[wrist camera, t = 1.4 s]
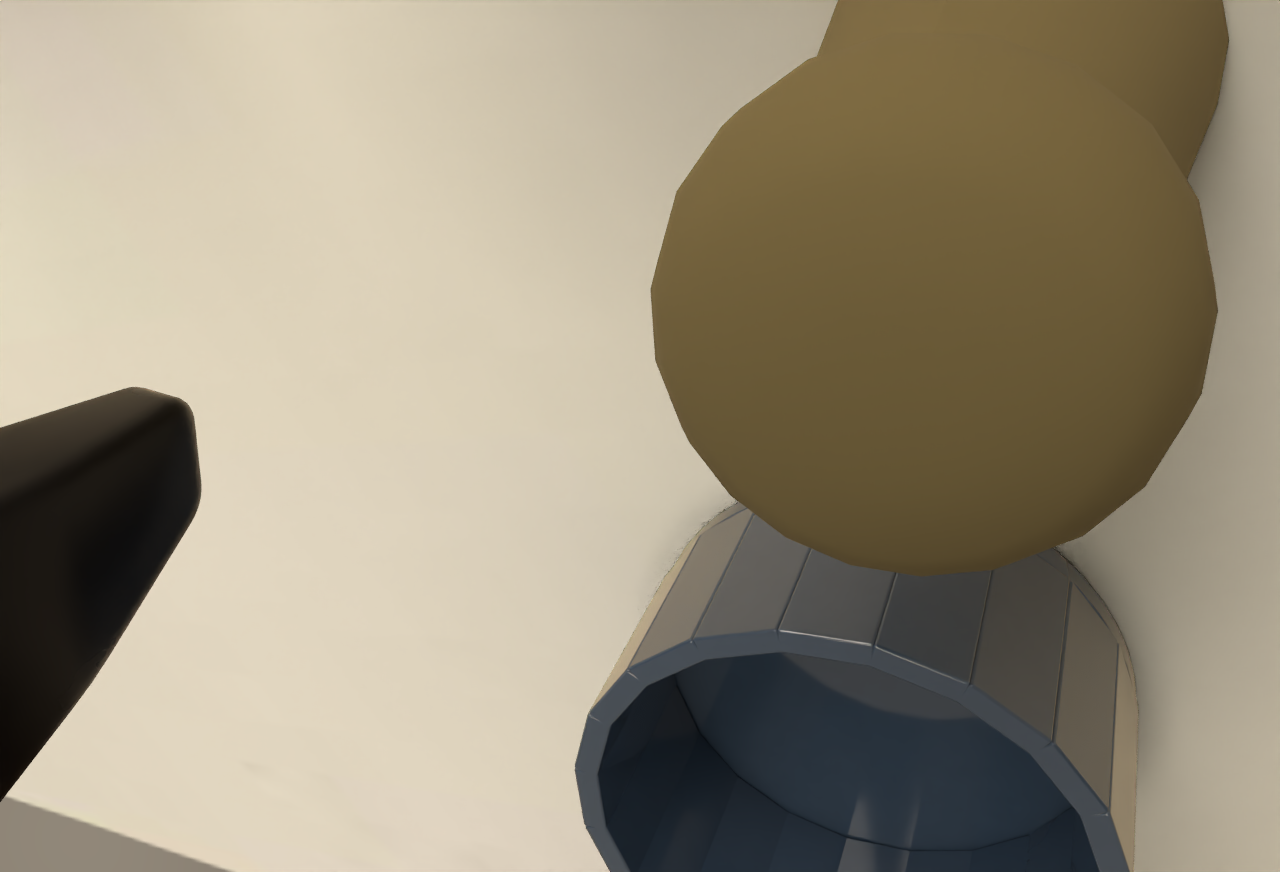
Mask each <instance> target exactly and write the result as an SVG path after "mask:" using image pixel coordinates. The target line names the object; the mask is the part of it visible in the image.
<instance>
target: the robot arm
mask: <svg viewBox="0 0 1280 872" xmlns="http://www.w3.org/2000/svg"><path fill="white" fill-rule="evenodd" d="M200 497H201V477H200V467H199V458H198V449H197V439H196V430H195V421H194V416H193V412H192V410H191V408H190V407H189V405H188V404H187V403H186V402H184V401H183V400H182V399H180V398H177V397H173V396H170V395H166V394H163V393H160V392H156V391H153V390H149V389H146V388H140V387H130V388H126V389H122V390H119V391H116V392H113V393H110V394H107V395H103V396H100V397H97V398H94V399H91V400H87V401H84V402H81V403H78V404H75V405H72V406H68V407H65V408H62V409H59V410H56V411H53V412H49V413H46V414H43V415H40V416H37V417H33V418H30V419H27V420H24V421H21V422H18V423H14V424H11V425H8V426H5V427H2V428H0V802H1V800H2V799H3V798H4V797H5V795H6V794H7V793H8V791H9V790H10V789H11V788H12V786H13V785H14V784H15V782H16V781H17V780H18V779H19V777H20V776H21V775H22V773H23V772H24V771H25V769H26V768H27V767H28V766H29V764H30V763H31V762H32V760H33V759H34V758H35V757H36V755H37V754H38V753H39V751H40V750H41V749H42V748H43V746H44V745H45V744H46V742H47V741H48V740H49V738H50V737H51V736H52V735H53V733H54V732H55V731H56V729H57V728H58V727H59V726H60V724H61V723H62V722H63V720H64V719H65V718H66V717H67V715H68V714H69V713H70V711H71V710H72V709H73V707H74V706H75V705H76V703H77V702H78V701H79V699H80V698H81V697H82V695H83V694H84V692H85V691H86V690H87V688H88V687H89V686H90V684H91V683H92V681H93V680H94V678H95V677H96V675H97V674H98V672H99V671H100V669H101V668H102V666H103V665H104V663H105V662H106V660H107V659H108V657H109V656H110V654H111V652H112V651H113V649H114V647H115V646H116V644H117V643H118V641H119V639H120V638H121V636H122V634H123V633H124V631H125V630H126V628H127V626H128V625H129V623H130V621H131V620H132V618H133V617H134V615H135V613H136V612H137V610H138V608H139V607H140V605H141V603H142V602H143V600H144V599H145V597H146V595H147V594H148V592H149V590H150V589H151V587H152V586H153V584H154V582H155V581H156V579H157V577H158V576H159V574H160V573H161V571H162V569H163V568H164V566H165V564H166V563H167V561H168V559H169V558H170V556H171V555H172V553H173V551H174V550H175V548H176V546H177V545H178V543H179V542H180V540H181V538H182V537H183V535H184V533H185V532H186V530H187V529H188V527H189V525H190V524H191V522H192V520H193V518H194V516H195V514H196V511H197V509H198V506H199V502H200Z"/></svg>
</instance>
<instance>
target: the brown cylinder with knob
mask: <svg viewBox="0 0 1280 872" xmlns="http://www.w3.org/2000/svg"><path fill="white" fill-rule="evenodd" d="M1228 43H1229V37H1228V31H1227V25H1226V19H1225V13H1224V7H1223V1H1222V0H838V3H837V5H836V8H835V10H834V13H833V16H832V18H831V21H830V24H829V26H828V29H827V31H826V34H825V37H824V39H823V42H822V44H821V47H820V50H819V52H818V55H817V57H814V58H811V59H808V60H807V61H805V62H804V63H803V64H801V65H800V66H798V67H797V68H796V69H794V70H793V71H792V72H790V73H789V74H788V75H786V76H785V77H783V78H782V79H781V80H779V81H778V82H777V83H775V84H774V85H772V86H771V87H770V88H768V89H767V90H766V91H764V92H763V93H761V94H760V95H759V96H757V97H756V98H755V99H753V100H752V101H750V102H749V103H748V104H746V105H745V106H744V107H742V108H741V109H740V110H739V111H738V112H737V113H735V114H734V115H733V116H732V117H731V118H730V119H729V120H728V121H727V122H726V123H725V124H724V125H723V126H722V127H721V128H720V130H719V131H718V133H717V134H716V135H715V137H714V138H713V140H712V141H711V143H710V144H709V146H708V147H707V148H706V150H705V151H704V153H703V154H702V156H701V157H700V159H699V160H698V161H697V163H696V164H695V166H694V167H693V169H692V170H691V172H690V173H689V174H688V176H687V177H686V179H685V180H684V182H683V183H682V185H681V186H680V187H679V189H678V190H677V192H676V196H675V200H674V203H673V207H672V211H671V214H670V218H669V222H668V225H667V229H666V233H665V236H664V240H663V244H662V247H661V251H660V255H659V258H658V262H657V266H656V270H655V274H654V278H653V282H652V286H651V302H652V317H653V332H654V346H655V361H656V363H657V366H658V368H659V371H660V373H661V376H662V378H663V381H664V383H665V386H666V388H667V391H668V393H669V396H670V399H671V401H672V404H673V406H674V409H675V411H676V414H677V416H678V419H679V421H680V424H681V426H682V428H683V430H684V432H685V434H686V436H687V438H688V440H689V442H690V444H691V445H692V446H693V448H694V449H695V450H696V451H697V453H698V454H699V455H700V457H701V458H702V459H703V460H704V462H705V463H706V464H707V466H708V467H709V468H710V469H711V471H712V472H713V473H714V475H715V476H716V477H717V478H718V480H719V481H720V482H721V484H722V485H723V486H724V487H725V489H726V490H727V491H728V493H729V494H730V495H731V496H732V497H733V498H735V499H736V500H737V501H738V502H740V503H741V504H742V505H744V506H745V507H746V508H748V509H749V510H750V511H752V512H753V513H754V514H756V515H757V516H758V517H760V518H761V519H762V520H763V521H765V522H766V523H767V524H769V525H770V526H771V527H773V528H774V529H775V530H777V531H778V532H779V533H781V534H782V535H783V536H784V537H786V538H788V539H791V540H793V541H795V542H798V543H800V544H802V545H805V546H807V547H809V548H812V549H814V550H816V551H819V552H821V553H823V554H826V555H828V556H830V557H833V558H835V559H837V560H840V561H842V562H844V563H847V564H849V565H853V566H859V567H865V568H871V569H878V570H884V571H890V572H896V573H902V574H909V575H915V576H932V575H943V574H954V573H964V572H975V571H986V570H994V569H997V568H999V567H1002V566H1005V565H1008V564H1011V563H1014V562H1016V561H1019V560H1021V559H1024V558H1027V557H1029V556H1032V555H1034V554H1037V553H1040V552H1042V551H1045V550H1047V549H1050V548H1053V547H1055V546H1058V545H1060V544H1063V543H1066V542H1068V541H1071V540H1073V539H1076V538H1079V537H1081V536H1083V535H1085V534H1086V533H1087V532H1088V531H1090V530H1091V529H1092V528H1093V527H1095V526H1096V525H1097V524H1099V523H1100V522H1101V521H1102V520H1104V519H1105V518H1106V517H1107V516H1109V515H1110V514H1111V513H1112V512H1114V511H1115V510H1116V509H1117V508H1119V507H1120V506H1121V505H1123V504H1124V503H1125V502H1126V501H1128V500H1129V499H1130V498H1131V497H1133V496H1134V495H1135V494H1136V493H1138V492H1139V491H1140V490H1141V489H1143V488H1144V487H1145V486H1146V484H1147V482H1148V481H1149V479H1150V478H1151V476H1152V474H1153V473H1154V471H1155V470H1156V468H1157V467H1158V465H1159V463H1160V462H1161V460H1162V459H1163V457H1164V455H1165V454H1166V452H1167V451H1168V449H1169V447H1170V446H1171V444H1172V443H1173V441H1174V439H1175V438H1176V436H1177V435H1178V433H1179V431H1180V430H1181V428H1182V427H1183V425H1184V424H1185V422H1186V420H1187V419H1188V417H1189V415H1190V413H1191V412H1192V410H1193V408H1194V406H1195V404H1196V403H1197V401H1198V399H1199V397H1200V396H1201V394H1202V389H1203V384H1204V379H1205V374H1206V369H1207V364H1208V359H1209V353H1210V348H1211V343H1212V338H1213V333H1214V328H1215V323H1216V318H1217V313H1218V308H1217V299H1216V291H1215V283H1214V278H1213V272H1212V267H1211V262H1210V256H1209V251H1208V246H1207V240H1206V235H1205V230H1204V224H1203V219H1202V214H1201V208H1200V203H1199V199H1198V198H1197V196H1196V194H1195V193H1194V191H1193V190H1192V188H1191V186H1190V185H1189V183H1188V181H1187V178H1188V175H1189V173H1190V170H1191V168H1192V166H1193V163H1194V161H1195V158H1196V156H1197V153H1198V151H1199V148H1200V146H1201V143H1202V141H1203V138H1204V136H1205V134H1206V131H1207V129H1208V126H1209V124H1210V121H1211V119H1212V116H1213V114H1214V111H1215V109H1216V106H1217V104H1218V99H1219V93H1220V87H1221V82H1222V76H1223V71H1224V65H1225V59H1226V54H1227V48H1228Z"/></svg>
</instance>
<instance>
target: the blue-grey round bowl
mask: <svg viewBox="0 0 1280 872" xmlns="http://www.w3.org/2000/svg"><path fill="white" fill-rule="evenodd" d="M1138 716H1139V710H1138V703H1137V699H1136V687H1135V676H1134V672H1133V668H1132V664H1131V660H1130V656H1129V652H1128V649H1127V646H1126V644H1125V642H1124V640H1123V637H1122V635H1121V633H1120V630H1119V628H1118V626H1117V623H1116V622H1115V620H1114V619H1113V617H1112V615H1111V614H1110V612H1109V611H1108V609H1107V607H1106V606H1105V604H1104V603H1103V601H1102V599H1101V598H1100V596H1099V595H1098V594H1097V593H1096V592H1095V590H1094V589H1093V588H1092V587H1091V586H1090V584H1089V583H1088V582H1087V581H1086V580H1085V578H1084V577H1083V576H1082V575H1081V574H1080V572H1079V571H1078V570H1076V569H1075V568H1074V567H1073V566H1072V565H1071V564H1070V563H1069V562H1068V561H1067V560H1066V559H1065V558H1064V557H1062V556H1061V555H1060V554H1059V553H1058V552H1057V551H1056V550H1055V549H1054V548H1050V549H1047V550H1045V551H1042V552H1040V553H1037V554H1034V555H1032V556H1029V557H1027V558H1024V559H1021V560H1019V561H1016V562H1014V563H1011V564H1008V565H1005V566H1002V567H999V568H997V569H994V570H986V571H975V572H964V573H954V574H943V575H932V576H915V575H909V574H902V573H896V572H890V571H884V570H878V569H871V568H865V567H859V566H853V565H849V564H847V563H844V562H842V561H840V560H837V559H835V558H833V557H830V556H828V555H826V554H823V553H821V552H819V551H816V550H814V549H812V548H809V547H807V546H805V545H802V544H800V543H798V542H795V541H793V540H791V539H788V538H786V537H784V536H783V535H782V534H781V533H779V532H778V531H777V530H775V529H774V528H773V527H771V526H770V525H769V524H767V523H766V522H765V521H763V520H762V519H761V518H760V517H758V516H757V515H756V514H754V513H753V512H752V511H750V510H749V509H748V508H746V507H745V506H744V505H742V504H741V503H740V502H738V503H737V504H735V505H733V506H732V507H730V508H728V509H727V510H725V511H723V512H722V513H720V514H719V515H717V516H716V517H715V518H714V519H713V520H711V521H710V522H709V523H708V524H707V525H705V526H704V527H703V528H702V529H701V530H700V531H699V532H698V533H697V534H696V535H695V537H694V538H693V539H692V540H691V541H690V542H689V544H688V545H687V546H686V547H685V548H684V550H683V552H682V553H681V555H680V557H679V558H678V560H677V562H676V563H675V565H674V566H673V567H672V568H671V570H670V571H669V572H668V573H667V574H666V576H665V577H664V579H663V581H662V583H661V584H660V586H659V588H658V590H657V591H656V593H655V595H654V597H653V599H652V600H651V602H650V604H649V606H648V608H647V609H646V611H645V613H644V615H643V616H642V618H641V620H640V622H639V624H638V625H637V627H636V629H635V631H634V632H633V634H632V636H631V638H630V640H629V641H628V643H627V645H626V647H625V649H624V650H623V652H622V654H621V656H620V657H619V659H618V661H617V663H616V665H615V666H614V668H613V670H612V672H611V673H610V675H609V677H608V679H607V681H606V682H605V684H604V686H603V688H602V690H601V691H600V693H599V695H598V697H597V698H596V700H595V702H594V704H593V706H592V707H591V709H590V711H589V713H588V715H587V719H586V723H585V727H584V731H583V735H582V739H581V743H580V747H579V751H578V755H577V759H576V763H575V774H576V779H577V785H578V791H579V796H580V802H581V807H582V813H583V819H584V824H585V825H586V829H587V831H588V832H589V834H590V836H591V838H592V840H593V842H594V843H595V845H596V847H597V849H598V851H599V852H600V854H601V856H602V858H603V860H604V862H605V863H606V865H607V867H608V869H609V871H610V872H1134V849H1135V816H1136V782H1137V749H1138Z"/></svg>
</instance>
